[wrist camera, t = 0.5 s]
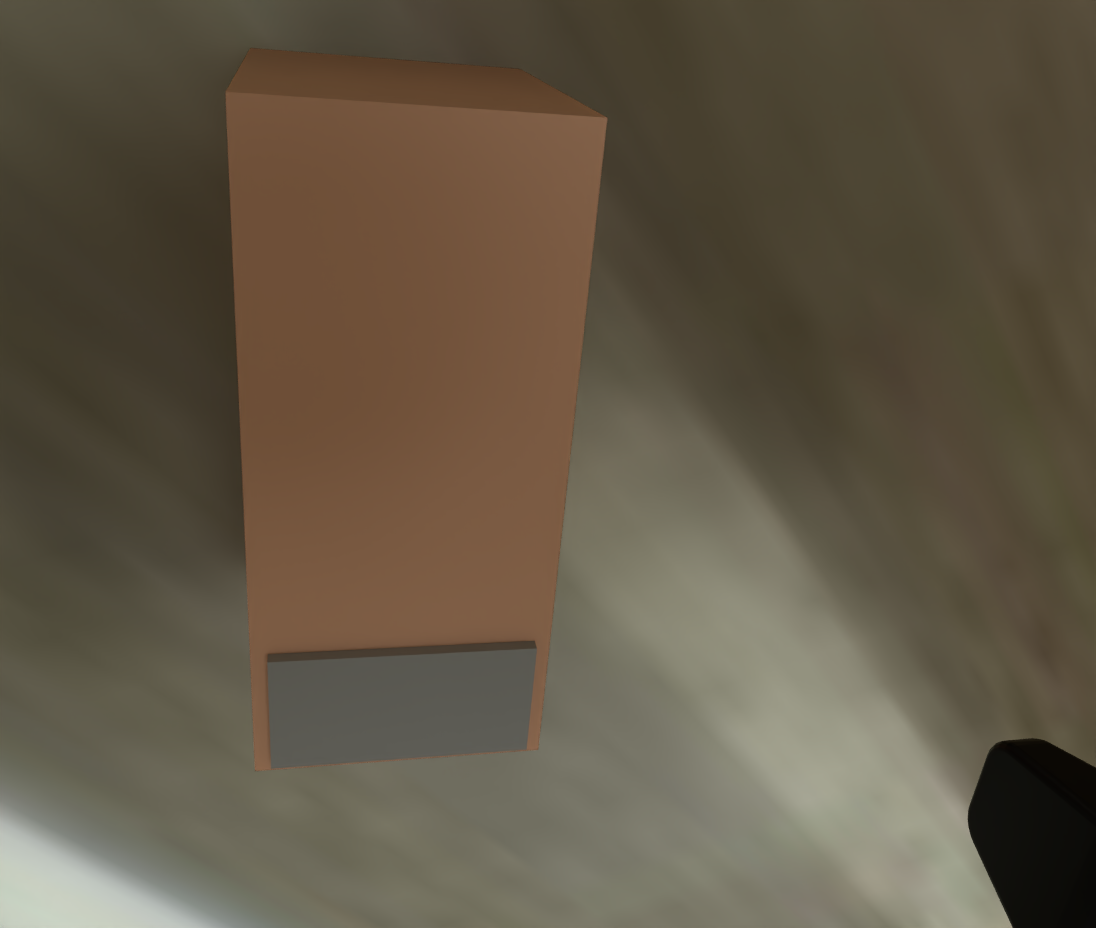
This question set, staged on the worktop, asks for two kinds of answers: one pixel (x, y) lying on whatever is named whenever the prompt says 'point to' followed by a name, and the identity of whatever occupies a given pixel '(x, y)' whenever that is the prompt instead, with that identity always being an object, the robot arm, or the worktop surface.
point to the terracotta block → (404, 395)
